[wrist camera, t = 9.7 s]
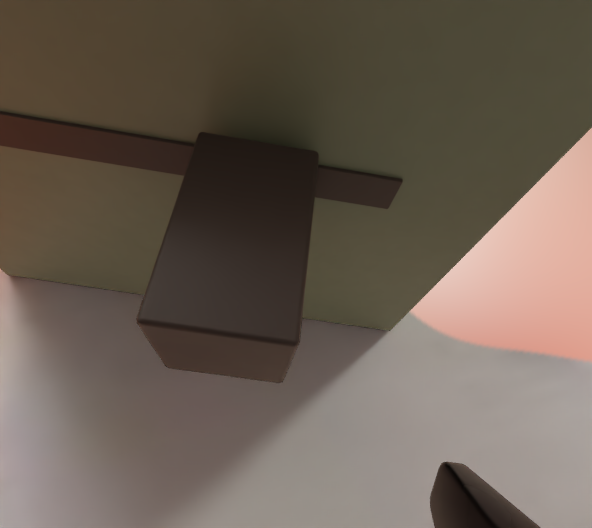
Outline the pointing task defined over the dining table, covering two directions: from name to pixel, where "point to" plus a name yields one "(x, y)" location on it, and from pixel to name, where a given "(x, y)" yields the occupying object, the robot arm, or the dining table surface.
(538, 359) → the dining table surface
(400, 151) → the toaster
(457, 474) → the robot arm
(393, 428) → the dining table surface
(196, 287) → the slider
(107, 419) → the dining table surface
